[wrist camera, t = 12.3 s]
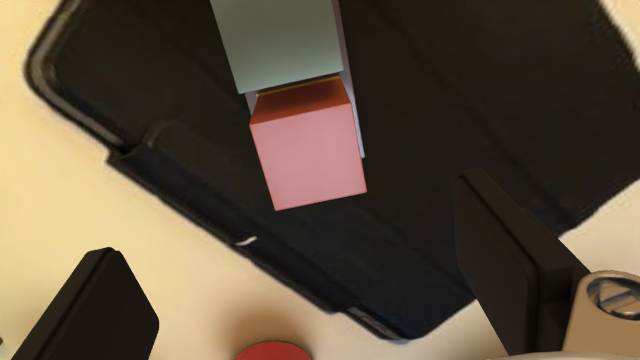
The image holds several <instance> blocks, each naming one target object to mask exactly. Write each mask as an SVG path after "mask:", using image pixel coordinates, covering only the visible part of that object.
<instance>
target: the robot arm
mask: <svg viewBox="0 0 640 360" xmlns="http://www.w3.org/2000/svg"><path fill="white" fill-rule="evenodd" d="M452 193H453V211H454V229H455V247H456V259H457V263H458V265H459V268H460V270H461V272H462V273H463V275H464V277H465V279H466V280H467V282H468V284H469V286H470V288H471V289H472V291H473V293H474V295H475V296H476V298H477V300H478V302H479V304H480V305H481V307H482V309H483V311H484V312H485V314H486V316H487V318H488V319H489V321H490V323H491V325H492V327H493V328H494V330H495V332H496V334H497V335H498V337H499V339H500V341H501V343H502V344H503V346H504V348H505V350H506V351H507V353H508V355H509V356H506V357H498V358H492V359H486V360H640V277H639V276H636V275H633V274H629V273H626V272H620V271H612V270H609V271H597V272H593V273H591V272H590V271H589V270H588V269H587V268H586V267H585V266H584V265H583V264H582V263H581V262H580V261H579V260H578V259H577V258H576V256H575V255H574V254H573V253H572V252H571V251H570V250H569V249H568V248H567V247H566V246H565V245H564V244H563V243H562V242H561V241H560V240H559V239H558V238H557V237H556V236H555V235H554V234H553V233H552V232H551V231H550V230H549V229H548V228H547V227H546V226H545V225H544V224H543V223H542V222H541V221H540V220H539V219H538V218H537V217H536V216H535V215H534V214H533V213H532V212H531V211H530V210H528V209H526V208H520V207H519V206H518V205H517V204H516V203H515V202H514V201H513V200H512V199H511V198H510V197H509V196H508V195H507V194H506V193H505V192H504V191H503V190H502V189H501V187H500V186H499V185H498V184H497V183H496V182H495V181H494V180H493V179H492V178H491V177H490V176H489V175H488V174H487V173H486V172H485V171H484V170H483V169H482V168H476V169H472V170H467V171H462V172H459V174H458V178H455V179H453V180H452ZM158 331H159V319H158V317H157V315H156V313H155V311H154V309H153V308H152V306H151V304H150V302H149V301H148V299H147V297H146V295H145V294H144V292H143V290H142V288H141V286H140V285H139V283H138V281H137V279H136V278H135V276H134V274H133V272H132V271H131V269H130V267H129V265H128V263H127V262H126V260H125V258H124V256H123V255H122V253H121V252H120V251H115V250H114V249H113V248H111V247H107V248H102V249H97V250H93V251H89V252H87V253H86V254H85V255H84V257H83V258H82V260H81V261H80V263H79V264H78V265H77V267H76V268H75V270H74V271H73V272H72V274H71V275H70V277H69V278H68V280H67V281H66V282H65V284H64V285H63V287H62V288H61V289H60V291H59V292H58V294H57V295H56V296H55V298H54V299H53V301H52V302H51V304H50V305H49V306H48V308H47V309H46V311H45V312H44V313H43V315H42V316H41V318H40V319H39V321H38V322H37V323H36V325H35V326H34V328H33V329H32V330H31V332H30V333H29V335H28V336H27V338H26V339H25V340H24V342H23V343H22V345H21V346H20V347H19V349H18V350H17V352H16V353H15V354H14V356H13V357H12V359H11V360H148V359H149V356H150V353H151V350H152V348H153V345H154V342H155V339H156V337H157V334H158Z"/></svg>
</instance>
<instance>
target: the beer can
mask: <svg viewBox="0 0 640 360" xmlns="http://www.w3.org/2000/svg"><path fill="white" fill-rule="evenodd" d="M235 360H312V359H311V357H310V356H309V355H308V354H307V353H306V352H305V351H304V350H303V349H301V348H300V347H297V346H295V345H293V344H291V343H286V342H281V341H265V342H262V343H258V344H254V345H252V346H251V347H249V348H247V349H245V350H244V351H242V352H241V353H240V354H239V355H238V357H237V358H236V359H235Z"/></svg>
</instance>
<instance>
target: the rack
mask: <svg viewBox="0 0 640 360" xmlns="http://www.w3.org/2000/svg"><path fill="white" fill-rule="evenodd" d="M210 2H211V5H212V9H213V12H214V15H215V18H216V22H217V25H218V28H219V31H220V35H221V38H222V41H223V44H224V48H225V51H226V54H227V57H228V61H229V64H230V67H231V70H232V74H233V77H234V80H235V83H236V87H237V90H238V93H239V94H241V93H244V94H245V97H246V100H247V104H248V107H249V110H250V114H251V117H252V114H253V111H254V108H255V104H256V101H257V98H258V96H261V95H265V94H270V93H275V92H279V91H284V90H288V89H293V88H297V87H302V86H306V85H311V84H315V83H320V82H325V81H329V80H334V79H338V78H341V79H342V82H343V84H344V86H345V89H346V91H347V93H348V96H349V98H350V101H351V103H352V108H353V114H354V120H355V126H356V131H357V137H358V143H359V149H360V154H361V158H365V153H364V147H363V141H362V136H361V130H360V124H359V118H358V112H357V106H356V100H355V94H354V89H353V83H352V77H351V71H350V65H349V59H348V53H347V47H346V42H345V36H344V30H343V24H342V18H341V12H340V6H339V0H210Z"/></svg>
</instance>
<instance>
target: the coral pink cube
mask: <svg viewBox="0 0 640 360" xmlns="http://www.w3.org/2000/svg"><path fill="white" fill-rule="evenodd" d="M249 126H250V130H251V133H252V136H253V139H254V143H255V146H256V149H257V152H258V156H259V159H260V162H261V165H262V169H263V172H264V175H265V179H266V182H267V185H268V188H269V192H270V195H271V198H272V201H273V205H274V208H275V210H276V211H278V210H282V209H287V208H292V207H297V206H302V205H307V204H312V203H316V202H321V201H326V200H331V199H336V198H341V197H346V196H351V195H355V194H360V193H365V192H367V189H366V183H365V177H364V171H363V166H362V160H361V154H360V149H359V143H358V137H357V131H356V126H355V120H354V114H353V108H352V103H351V101H350V98H349V96H348V93H347V91H346V89H345V86H344V84H343V82H342V79H341V78H338V79H334V80H329V81H325V82H320V83H315V84H311V85H306V86H302V87H297V88H293V89H288V90H284V91H279V92H275V93H270V94H265V95H261V96H258V98H257V101H256V104H255V108H254V111H253V114H252V117H251V121H250V124H249Z"/></svg>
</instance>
